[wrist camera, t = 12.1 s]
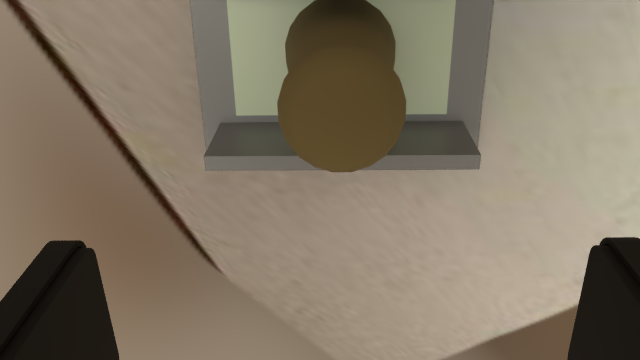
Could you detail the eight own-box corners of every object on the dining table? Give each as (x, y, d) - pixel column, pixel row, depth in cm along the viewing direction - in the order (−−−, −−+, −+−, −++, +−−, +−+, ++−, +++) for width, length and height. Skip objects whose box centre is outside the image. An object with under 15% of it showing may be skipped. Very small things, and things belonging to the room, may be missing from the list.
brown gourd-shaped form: (384, 111, 34) (404, 204, 24) (279, 96, 34) (255, 184, 24) (406, 3, 31) (438, 57, 21) (291, -14, 31) (270, 33, 21)
